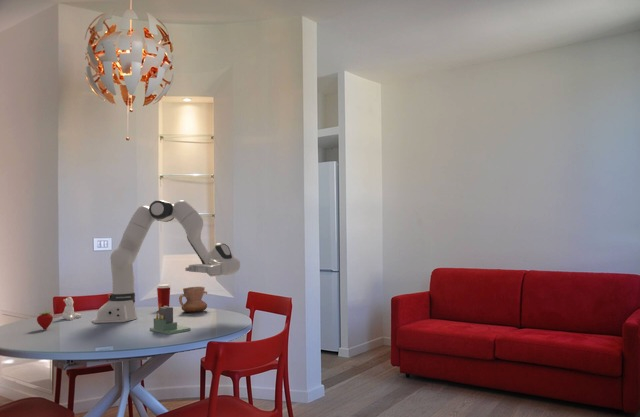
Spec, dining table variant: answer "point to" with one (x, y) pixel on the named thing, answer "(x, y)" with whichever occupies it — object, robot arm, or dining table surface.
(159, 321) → the header board
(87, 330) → the dining table surface
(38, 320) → the strawberry
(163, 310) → the plug block
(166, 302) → the coffee cup
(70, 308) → the white creature statuette
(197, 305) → the ceramic jug
